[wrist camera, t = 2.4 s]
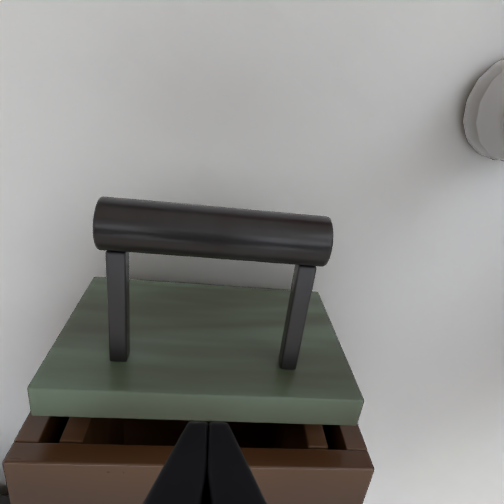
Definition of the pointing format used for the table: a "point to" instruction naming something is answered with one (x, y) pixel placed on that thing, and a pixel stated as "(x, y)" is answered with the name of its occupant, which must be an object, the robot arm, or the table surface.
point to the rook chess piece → (487, 113)
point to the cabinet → (154, 457)
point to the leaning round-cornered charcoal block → (4, 499)
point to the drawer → (199, 336)
